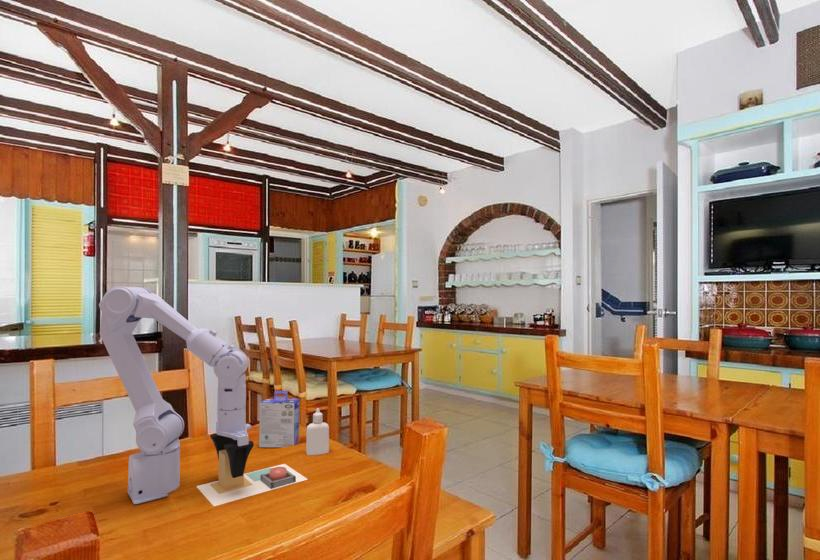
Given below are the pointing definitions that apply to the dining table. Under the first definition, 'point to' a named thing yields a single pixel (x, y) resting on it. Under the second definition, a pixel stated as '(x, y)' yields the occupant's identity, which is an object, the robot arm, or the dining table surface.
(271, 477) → the button
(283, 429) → the ink cartridge box
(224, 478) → the ochre block
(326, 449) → the eye dropper bottle
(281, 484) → the white board with squares
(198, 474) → the dining table surface
